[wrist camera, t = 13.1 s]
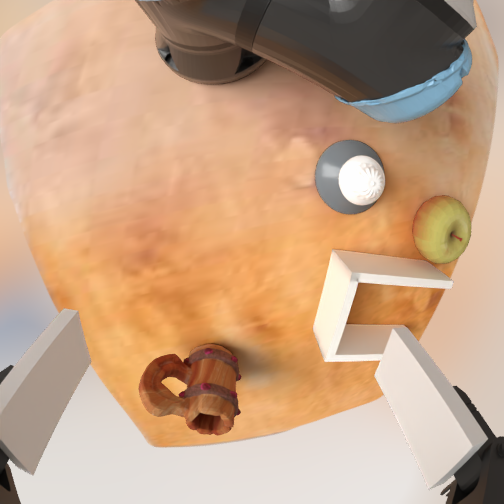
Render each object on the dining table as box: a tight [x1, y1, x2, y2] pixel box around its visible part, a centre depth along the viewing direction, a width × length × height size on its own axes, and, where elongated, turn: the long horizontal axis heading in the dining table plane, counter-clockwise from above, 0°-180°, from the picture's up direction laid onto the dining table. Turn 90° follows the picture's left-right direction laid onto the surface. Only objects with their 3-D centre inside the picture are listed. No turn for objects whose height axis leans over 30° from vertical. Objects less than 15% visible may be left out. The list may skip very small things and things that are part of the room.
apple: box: [412, 195, 471, 264], centre depth 35 cm, size 10×10×8 cm
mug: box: [139, 344, 241, 435], centre depth 38 cm, size 15×8×15 cm, turn 63°
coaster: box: [315, 140, 385, 214], centre depth 36 cm, size 10×10×1 cm
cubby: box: [313, 249, 454, 362], centre depth 39 cm, size 13×17×8 cm
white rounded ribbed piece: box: [338, 155, 385, 205], centre depth 33 cm, size 6×6×7 cm
